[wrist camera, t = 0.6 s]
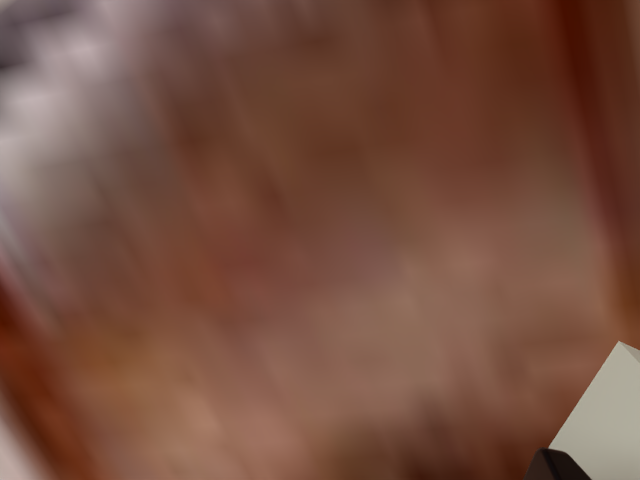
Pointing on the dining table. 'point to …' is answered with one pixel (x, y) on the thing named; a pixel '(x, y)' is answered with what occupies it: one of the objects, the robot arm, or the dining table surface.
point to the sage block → (607, 420)
